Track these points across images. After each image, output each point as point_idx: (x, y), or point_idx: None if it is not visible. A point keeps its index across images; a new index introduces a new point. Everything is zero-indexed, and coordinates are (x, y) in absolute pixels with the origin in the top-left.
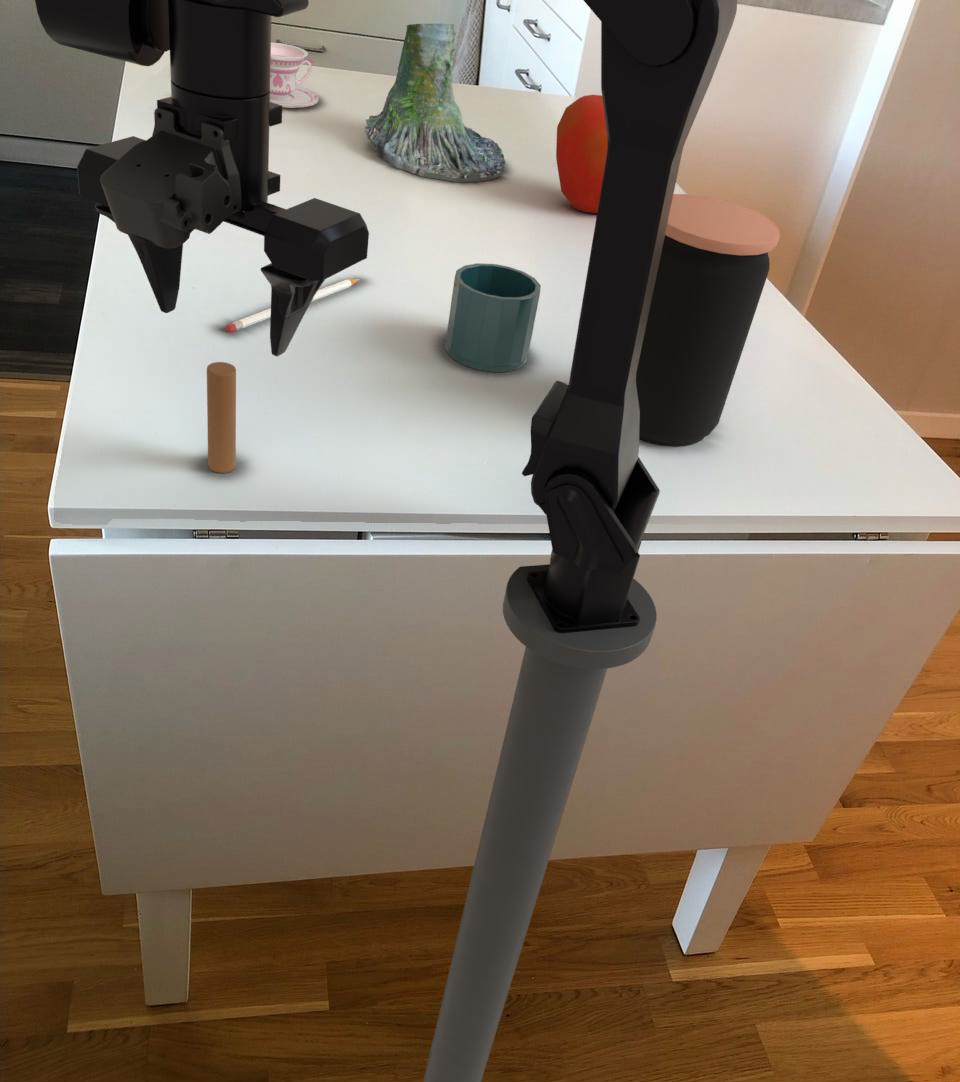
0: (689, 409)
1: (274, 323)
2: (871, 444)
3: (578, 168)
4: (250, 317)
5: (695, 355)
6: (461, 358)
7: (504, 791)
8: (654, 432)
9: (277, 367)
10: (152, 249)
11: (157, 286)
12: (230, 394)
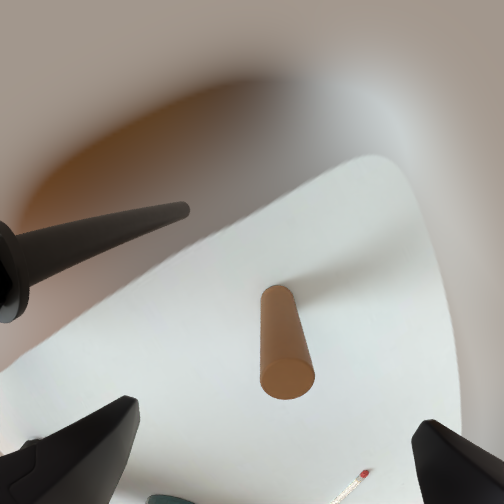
0: None
1: (76, 442)
2: (2, 447)
3: None
4: (353, 487)
5: None
6: (180, 501)
7: (86, 223)
8: (35, 443)
9: (308, 460)
10: (502, 500)
11: (460, 448)
12: (262, 349)
